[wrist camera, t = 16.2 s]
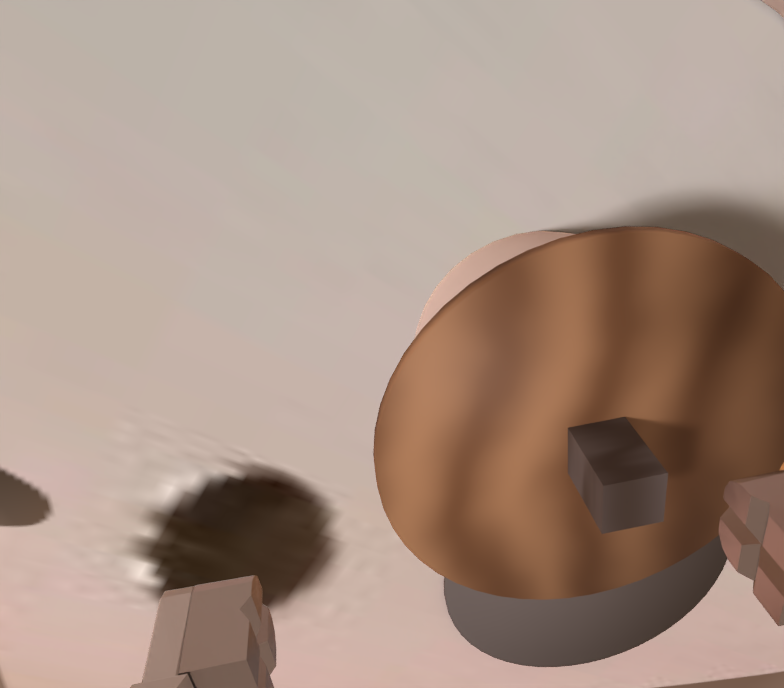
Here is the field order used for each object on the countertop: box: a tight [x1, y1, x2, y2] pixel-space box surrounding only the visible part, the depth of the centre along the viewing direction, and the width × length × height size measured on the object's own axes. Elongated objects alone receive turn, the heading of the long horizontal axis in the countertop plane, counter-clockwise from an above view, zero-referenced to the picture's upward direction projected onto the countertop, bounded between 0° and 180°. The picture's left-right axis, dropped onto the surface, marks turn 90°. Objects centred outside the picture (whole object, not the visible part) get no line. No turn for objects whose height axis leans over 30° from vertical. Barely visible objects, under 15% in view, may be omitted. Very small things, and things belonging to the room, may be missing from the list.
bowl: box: [414, 231, 575, 339], centre depth 45 cm, size 24×24×12 cm
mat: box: [444, 535, 727, 667], centre depth 63 cm, size 28×28×1 cm
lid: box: [373, 226, 784, 600], centre depth 37 cm, size 26×26×6 cm
